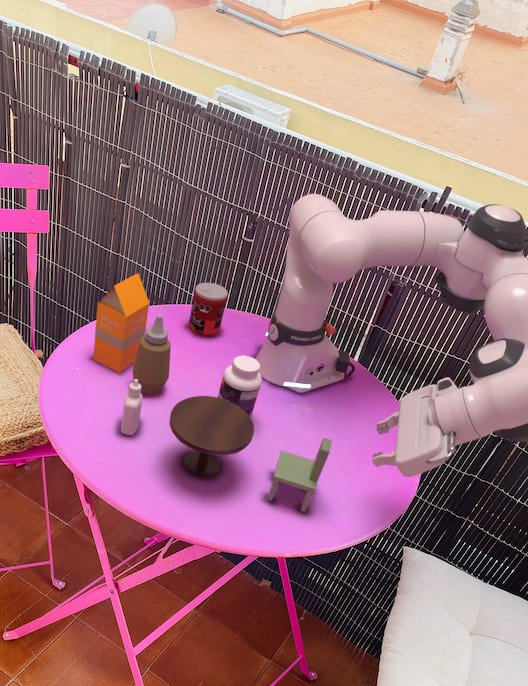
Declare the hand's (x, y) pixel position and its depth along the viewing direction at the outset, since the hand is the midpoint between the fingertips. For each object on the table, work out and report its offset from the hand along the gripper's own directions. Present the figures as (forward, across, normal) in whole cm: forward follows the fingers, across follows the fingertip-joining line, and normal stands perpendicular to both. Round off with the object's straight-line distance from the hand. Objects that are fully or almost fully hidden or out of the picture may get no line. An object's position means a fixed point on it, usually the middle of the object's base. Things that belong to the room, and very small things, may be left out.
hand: (375, 444), depth 121 cm
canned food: (+42, +50, +17) cm, 67 cm away
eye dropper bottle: (+45, +4, +20) cm, 49 cm away
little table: (+33, 0, +8) cm, 34 cm away
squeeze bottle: (+45, +20, +21) cm, 54 cm away
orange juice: (+52, +27, +28) cm, 65 cm away
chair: (+20, 0, -4) cm, 20 cm away
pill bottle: (+32, +18, +7) cm, 37 cm away
